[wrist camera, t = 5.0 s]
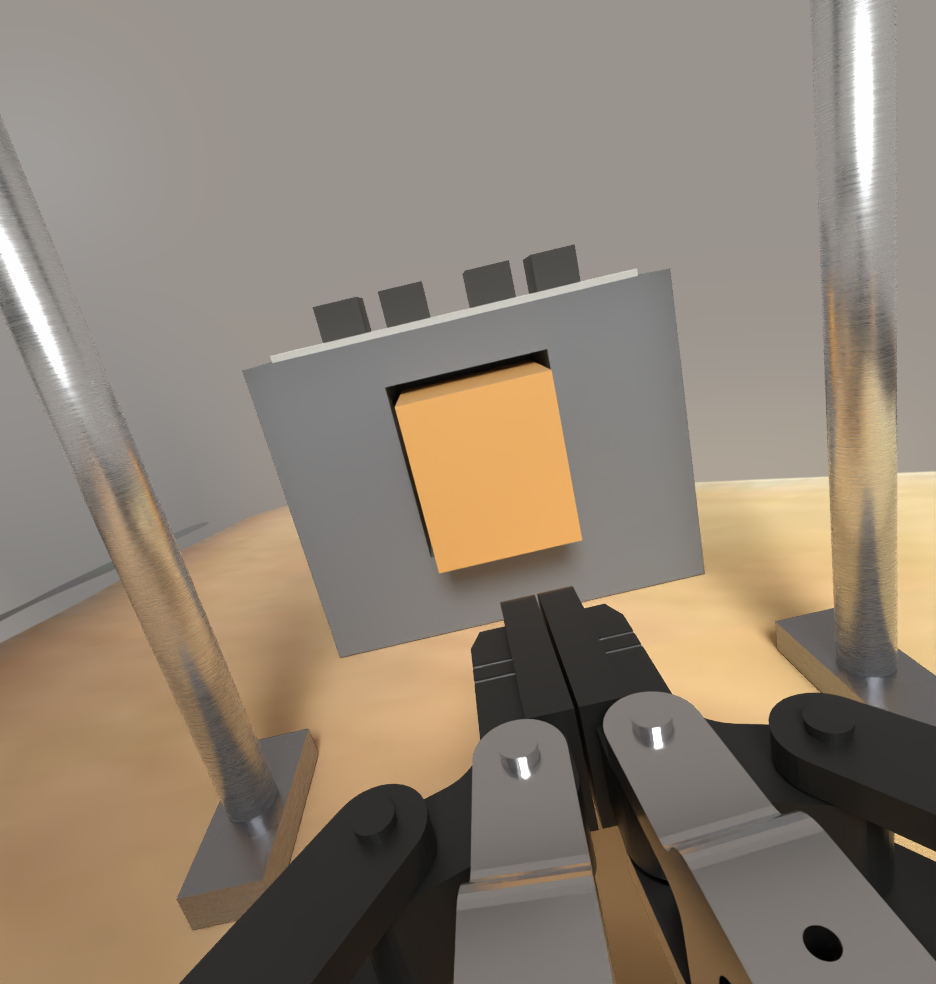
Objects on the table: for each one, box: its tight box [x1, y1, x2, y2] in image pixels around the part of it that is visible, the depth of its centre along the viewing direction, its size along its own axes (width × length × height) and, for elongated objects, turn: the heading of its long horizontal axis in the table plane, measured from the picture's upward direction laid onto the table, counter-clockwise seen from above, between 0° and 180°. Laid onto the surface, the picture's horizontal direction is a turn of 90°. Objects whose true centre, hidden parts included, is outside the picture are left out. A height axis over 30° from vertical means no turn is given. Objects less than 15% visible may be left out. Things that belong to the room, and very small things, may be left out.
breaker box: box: [243, 245, 705, 658], centre depth 29 cm, size 18×8×16 cm, turn 94°
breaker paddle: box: [395, 360, 582, 573], centre depth 25 cm, size 6×5×7 cm
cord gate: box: [0, 0, 936, 930], centre depth 15 cm, size 22×6×25 cm, turn 94°
